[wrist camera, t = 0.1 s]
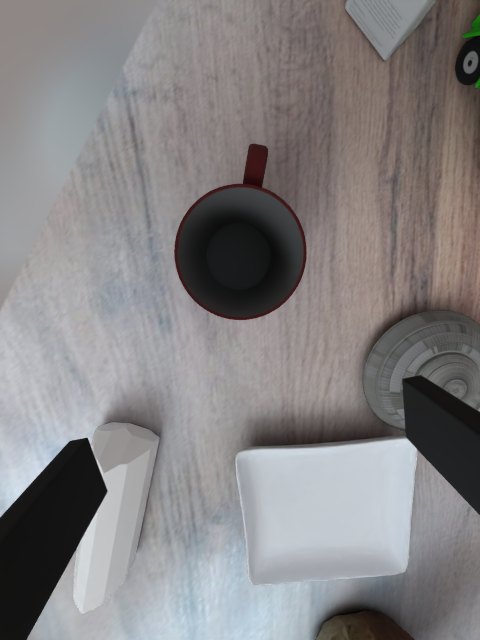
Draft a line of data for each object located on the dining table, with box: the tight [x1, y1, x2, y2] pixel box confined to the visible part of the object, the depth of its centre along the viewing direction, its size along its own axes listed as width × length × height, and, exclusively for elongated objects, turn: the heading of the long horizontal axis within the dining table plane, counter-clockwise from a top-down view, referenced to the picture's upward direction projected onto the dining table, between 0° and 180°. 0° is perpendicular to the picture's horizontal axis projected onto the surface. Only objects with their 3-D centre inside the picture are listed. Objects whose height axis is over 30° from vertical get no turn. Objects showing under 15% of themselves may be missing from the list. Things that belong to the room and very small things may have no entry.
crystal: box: [74, 422, 160, 614], centre depth 33 cm, size 7×7×24 cm
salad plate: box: [235, 436, 417, 585], centre depth 34 cm, size 21×21×3 cm
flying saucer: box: [363, 310, 480, 430], centre depth 29 cm, size 15×15×6 cm
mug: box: [174, 144, 306, 320], centre depth 23 cm, size 12×9×11 cm
